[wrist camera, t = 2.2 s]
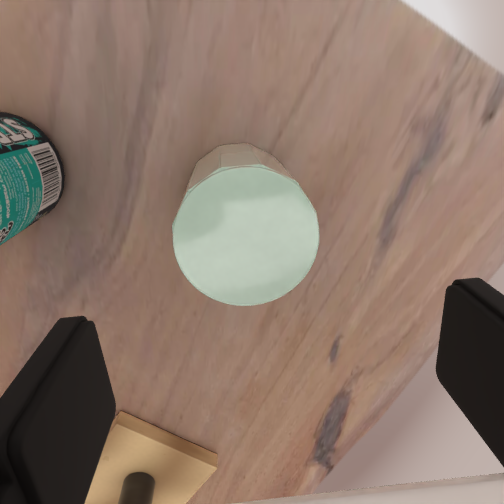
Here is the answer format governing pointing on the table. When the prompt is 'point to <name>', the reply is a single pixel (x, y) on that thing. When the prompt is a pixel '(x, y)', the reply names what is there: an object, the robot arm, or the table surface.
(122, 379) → the table surface
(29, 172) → the beverage can
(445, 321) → the robot arm
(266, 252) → the cup
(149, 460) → the cup stand
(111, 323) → the table surface
